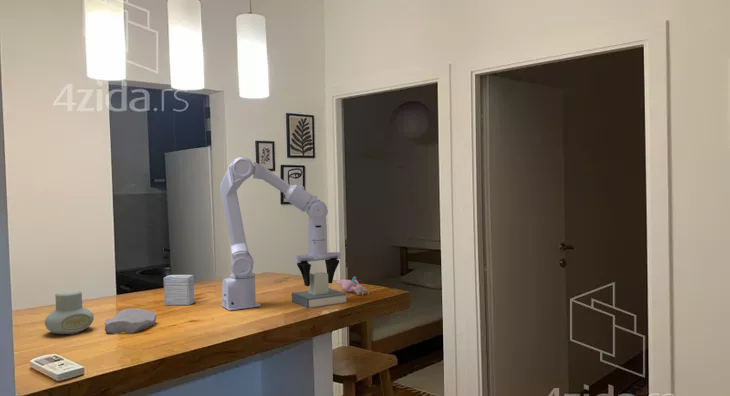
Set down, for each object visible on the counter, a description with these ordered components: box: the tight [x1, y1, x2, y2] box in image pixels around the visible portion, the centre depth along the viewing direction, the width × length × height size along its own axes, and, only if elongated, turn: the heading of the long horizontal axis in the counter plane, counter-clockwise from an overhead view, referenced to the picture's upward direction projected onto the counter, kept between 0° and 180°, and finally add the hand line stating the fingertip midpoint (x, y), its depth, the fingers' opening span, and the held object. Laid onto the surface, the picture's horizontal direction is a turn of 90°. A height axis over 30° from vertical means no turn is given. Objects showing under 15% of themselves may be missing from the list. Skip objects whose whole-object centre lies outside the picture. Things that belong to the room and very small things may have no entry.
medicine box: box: [163, 274, 195, 306], centre depth 174 cm, size 8×4×9 cm, turn 84°
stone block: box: [104, 308, 157, 334], centre depth 146 cm, size 12×5×10 cm
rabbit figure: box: [335, 276, 371, 296], centre depth 187 cm, size 6×6×15 cm
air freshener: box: [44, 289, 95, 335], centre depth 143 cm, size 11×8×10 cm
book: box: [291, 287, 347, 309], centre depth 173 cm, size 13×11×3 cm
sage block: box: [307, 271, 329, 295], centre depth 173 cm, size 4×4×6 cm
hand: (318, 284), depth 173 cm, fingers open, 7 cm apart
